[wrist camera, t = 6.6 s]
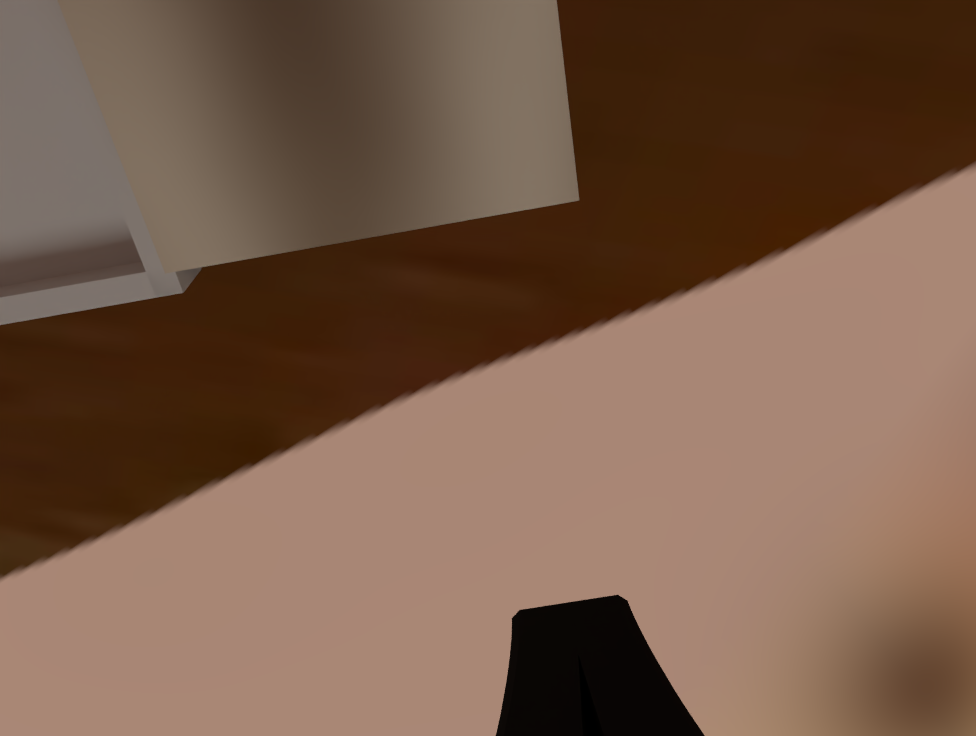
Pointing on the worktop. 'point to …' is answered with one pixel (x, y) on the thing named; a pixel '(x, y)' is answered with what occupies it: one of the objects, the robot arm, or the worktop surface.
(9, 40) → the grey tray
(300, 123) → the birch deck
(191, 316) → the worktop surface
